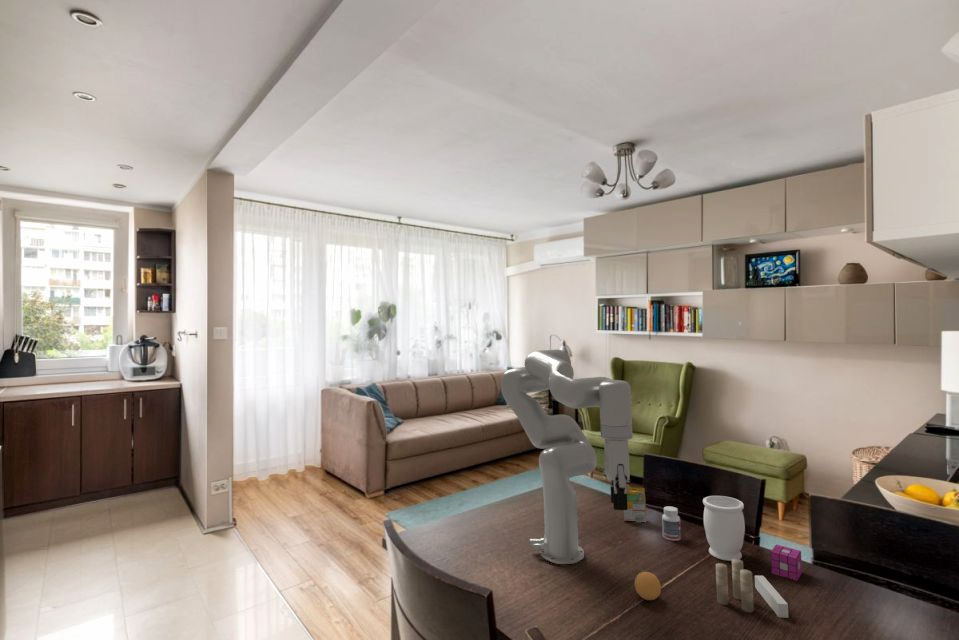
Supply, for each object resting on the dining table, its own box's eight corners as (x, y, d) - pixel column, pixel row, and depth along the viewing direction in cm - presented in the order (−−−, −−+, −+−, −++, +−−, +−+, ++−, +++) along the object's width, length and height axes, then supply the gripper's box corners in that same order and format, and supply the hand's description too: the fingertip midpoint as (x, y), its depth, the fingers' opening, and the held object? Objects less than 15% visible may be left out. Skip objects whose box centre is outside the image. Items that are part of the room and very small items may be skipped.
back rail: (778, 617, 104) (778, 603, 104) (755, 587, 116) (754, 575, 116) (788, 617, 104) (787, 604, 104) (763, 587, 116) (763, 575, 116)
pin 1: (735, 599, 111) (734, 563, 112) (731, 593, 114) (730, 558, 114) (746, 599, 111) (744, 563, 111) (742, 594, 113) (740, 559, 114)
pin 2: (744, 612, 106) (742, 574, 107) (739, 605, 109) (738, 569, 109) (755, 612, 106) (753, 575, 106) (750, 606, 108) (749, 569, 109)
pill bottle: (682, 541, 142) (681, 512, 142) (664, 540, 143) (663, 511, 143) (678, 534, 147) (677, 505, 147) (661, 533, 148) (660, 505, 148)
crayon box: (645, 519, 158) (644, 485, 159) (646, 523, 156) (645, 488, 156) (623, 518, 160) (621, 484, 160) (623, 521, 157) (622, 487, 157)
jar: (730, 567, 126) (727, 511, 126) (696, 551, 135) (694, 499, 135) (754, 557, 131) (752, 503, 131) (720, 542, 140) (718, 492, 140)
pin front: (719, 604, 110) (717, 568, 110) (715, 598, 112) (714, 563, 112) (730, 605, 109) (728, 568, 109) (726, 599, 112) (724, 563, 112)
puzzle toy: (802, 572, 122) (801, 550, 123) (797, 581, 118) (796, 558, 118) (776, 565, 126) (775, 544, 127) (771, 573, 122) (770, 551, 122)
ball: (637, 604, 111) (636, 579, 111) (633, 590, 116) (632, 566, 117) (664, 606, 110) (663, 580, 110) (658, 591, 116) (657, 567, 116)
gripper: (597, 424, 123) (599, 493, 123) (604, 439, 107) (607, 519, 107) (626, 424, 122) (629, 494, 122) (638, 439, 106) (641, 520, 106)
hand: (619, 505), depth 114 cm, fingers open, 3 cm apart
